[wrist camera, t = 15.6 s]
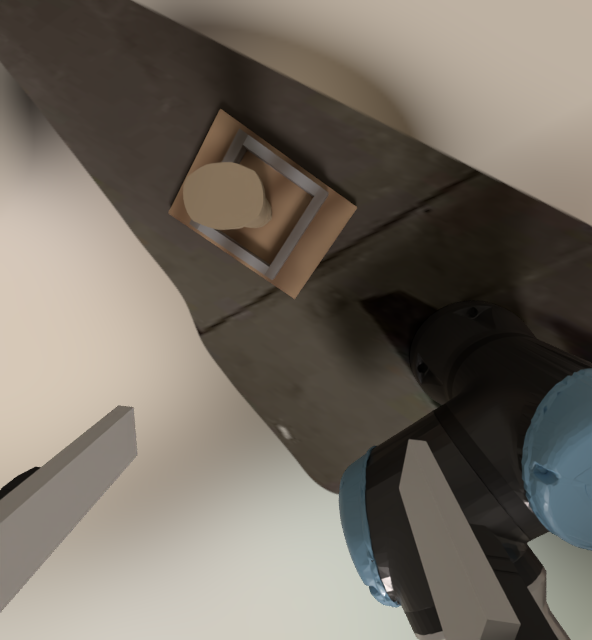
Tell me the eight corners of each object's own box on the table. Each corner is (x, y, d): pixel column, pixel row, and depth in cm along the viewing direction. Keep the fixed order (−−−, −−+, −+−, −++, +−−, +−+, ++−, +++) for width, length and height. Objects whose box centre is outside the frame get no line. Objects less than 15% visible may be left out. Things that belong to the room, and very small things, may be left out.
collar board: (356, 208, 37) (359, 205, 34) (295, 297, 41) (293, 301, 38) (223, 112, 36) (214, 100, 33) (172, 213, 40) (160, 211, 37)
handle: (233, 195, 37) (178, 166, 23) (284, 191, 37) (260, 158, 22) (238, 235, 38) (188, 231, 24) (286, 231, 38) (265, 225, 23)
